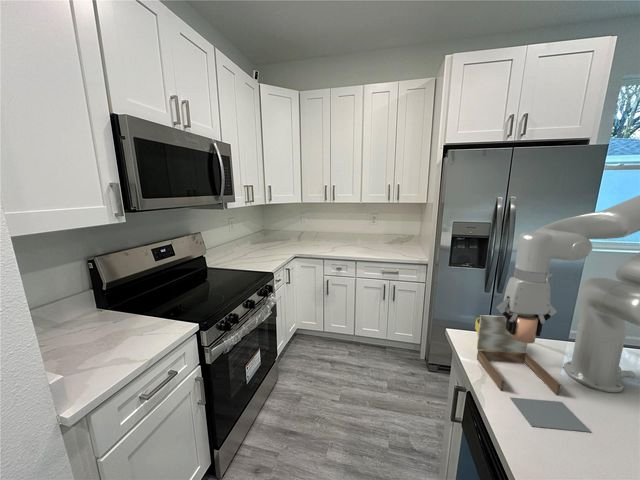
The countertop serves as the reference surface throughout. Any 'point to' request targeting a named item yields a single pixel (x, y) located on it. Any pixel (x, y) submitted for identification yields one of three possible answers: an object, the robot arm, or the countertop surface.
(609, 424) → the countertop surface
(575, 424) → the potting mat
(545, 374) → the wooden bench
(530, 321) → the flowerpot
